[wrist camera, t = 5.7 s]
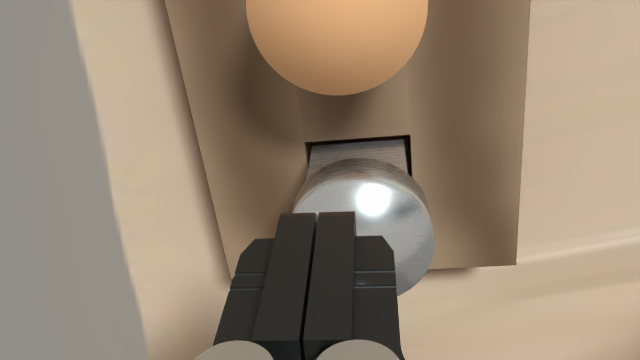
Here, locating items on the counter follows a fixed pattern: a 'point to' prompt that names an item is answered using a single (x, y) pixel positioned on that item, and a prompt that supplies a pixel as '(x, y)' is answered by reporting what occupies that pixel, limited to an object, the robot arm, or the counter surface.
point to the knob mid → (337, 40)
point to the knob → (373, 200)
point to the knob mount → (366, 123)
